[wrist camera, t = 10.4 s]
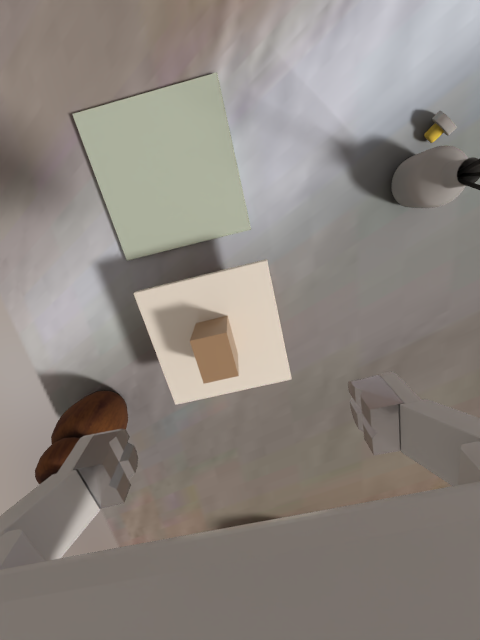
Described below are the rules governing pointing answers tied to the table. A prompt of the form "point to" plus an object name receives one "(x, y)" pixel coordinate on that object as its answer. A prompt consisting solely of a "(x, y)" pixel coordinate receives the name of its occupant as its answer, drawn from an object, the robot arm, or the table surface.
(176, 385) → the lid
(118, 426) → the wooden figurine
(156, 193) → the mat
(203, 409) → the table surface
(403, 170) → the reed diffuser
